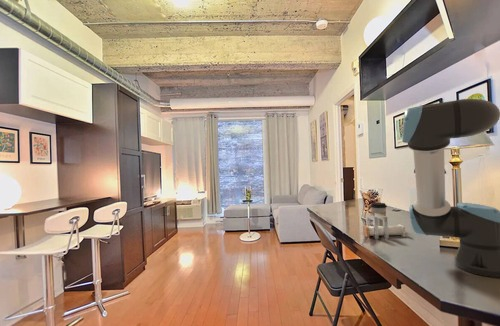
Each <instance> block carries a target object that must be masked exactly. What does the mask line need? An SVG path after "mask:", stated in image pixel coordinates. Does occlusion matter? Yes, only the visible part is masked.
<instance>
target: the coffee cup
mask: <svg viewBox="0 0 500 326" xmlns="http://www.w3.org/2000/svg"><path fill="white" fill-rule="evenodd" d="M369 207H370V209H371V214H372V215H374V216H375V213H379V214H382V215H384V216H386V217H387V207H388V206H387V204H386V203H385V202H371V203H370V205H369ZM379 223H380V226H383V220H382V219H380V218H379Z"/></svg>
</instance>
